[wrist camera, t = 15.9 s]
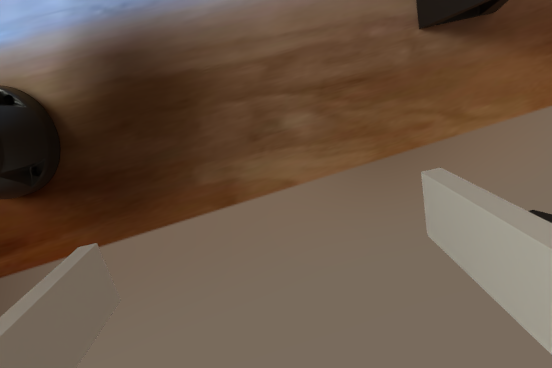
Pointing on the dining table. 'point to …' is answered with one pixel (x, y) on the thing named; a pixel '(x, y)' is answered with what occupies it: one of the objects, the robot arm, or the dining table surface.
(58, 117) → the dining table surface
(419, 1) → the phone stand
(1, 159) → the robot arm
